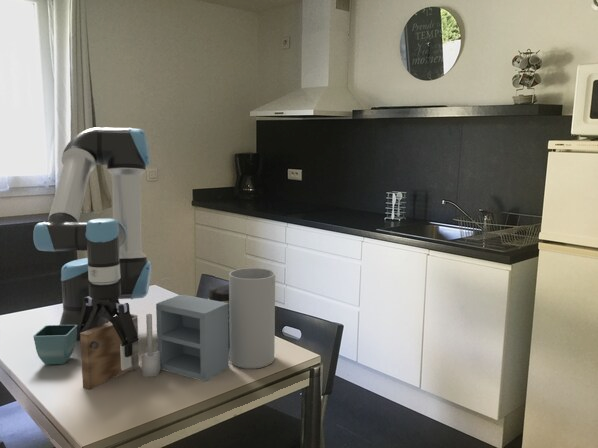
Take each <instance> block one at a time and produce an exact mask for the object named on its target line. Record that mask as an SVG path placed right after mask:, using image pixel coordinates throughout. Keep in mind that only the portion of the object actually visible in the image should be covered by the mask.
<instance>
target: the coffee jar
mask: <svg viewBox="0 0 598 448" xmlns="http://www.w3.org/2000/svg"><path fill="white" fill-rule="evenodd" d="M207 299H209V300H214V301H220V302H225V303H228V329H229V284H222V285H215V286H209V288H208V293H207ZM229 349H230V340H229Z"/></svg>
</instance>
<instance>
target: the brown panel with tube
mask: <svg viewBox="0 0 598 448" xmlns="http://www.w3.org/2000/svg"><path fill="white" fill-rule="evenodd" d="M130 314H131V313H130ZM131 317H132V320H133V323H134V326H135V329H136V332H137V335H138V336H139V326H138V325H139V323H138V322H139V319H138V317H139V316H138V315H137V314H131ZM80 339H81V340H80V353H81V354H80V355H81V357H80V359H81V373H82V374H81V375H82V387H83V389H86V390H89V391H90V390H92V389H94V388H96V387H98V386H100V385H102V384H104V383H106V382H108V381H111V380H113V379H114V378H117V377H118V376H120V375H122V374H124V373H127V372H131V371H132V372H133V371H135V370H138V369H139V368H140V357H139V356H140V352H139V349H140V348H139V340H138V341H137V342H135V343H132V356H131V367H129V368H127V369H125V370H121V355H120V345H121V344H123V343H122V341H121V339H120V338H119V336H118V334H117V332H116V330H115V328H114V326H113V324H112V323H111V322H109V323H106V324H103V325H101V326H98V327H95V328H93V329H90V330H87V331H84V332H82V333H80ZM126 340H127V338H126Z"/></svg>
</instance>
